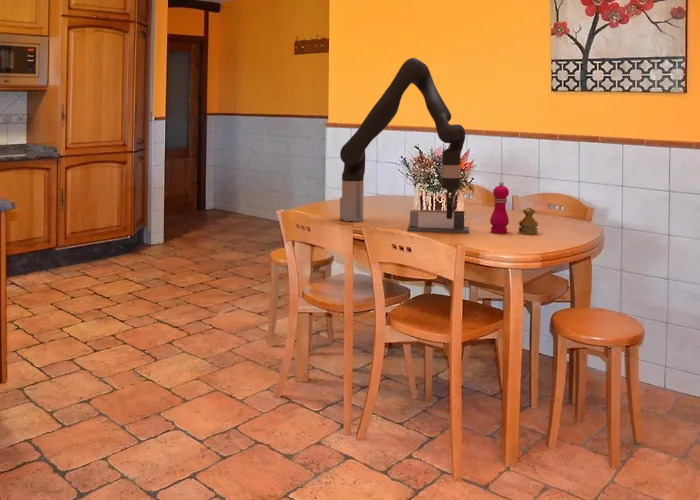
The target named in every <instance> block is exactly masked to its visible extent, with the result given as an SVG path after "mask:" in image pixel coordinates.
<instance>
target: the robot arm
mask: <svg viewBox="0 0 700 500" xmlns="http://www.w3.org/2000/svg"><path fill="white" fill-rule="evenodd" d="M412 84H413V85H414V86H415V87H416V88H417V89H418V91H420V93H421V95H422V96H423V99H424V102H425V106H426V109H427V111H428V114H429V115H430V116H431V118H432V120H433V122H434V125H435V128H436V129H435V130H436V133H437V136H438V138H439V140H440V142H443V143H445V144H449V146H448V148H445V149H444V150H443V151H442V155H441V156H442V157H441V158H442V159H441V163H442V164H441V170H440V172H441V173H440V174H441V175H440V177H441V178H440V188H441V189H443V190H447V192H444V193H445V194H444V198H445V205H446V206H445V209H446V211H447V219H452V211H454V205H455V201H456V200H455V199H456V192H455V190H459V189H461V174H462V173H461V171H462V170H461V155H462V151H463V147H464V143H465V140H466V130H465V129H464V127H463V125H461V124H457V123H456V124H450V121H451V119H452V114H451V111H450V109H449V108H448V106H447V104H446V103H445V102H444V99H443V98H442V96H441V95H440V92H439V91H438V89H437V87H436V84H435V82H434V80H433V76H432V74H431V71H430V69H429V66H428V65H427V64H426V63H424V62H423V61H421V60H420V59H418V58H417V57H410V58H408V59H406V60H404V62H403V64H402V65H401V67H400V68H399V70H398V72H396V75H395V76H394V78H393V80H392V81H391V83H390V84H389V86H387V88H386V90H385V91H384V92H383V94H382V95H381V96H380V98H379V99H378V100H377V101H376V103H375V104H374V106H373V107H372V108H371V110H370V111H369V113H368V114H367V115H366V117H365V118H364V119H363V122H362V123H361V124H360V125H359V127H358V129H357V130H356V132H355V133H354V134H353V135H352V136H351V137H350V138H349V140H348V141H346V143H345V144H344V145H342V147H341V149H340V151H339V152H340V154H339V157H340V159H341V161H342V163H343V171H342V174H341V197H340V198H339V220H340V219H341V220H340V221H343V220H344V222H350V221H353V222H362V221H364V190H365V189H364V182H365V181H364V177H365V173H366V149H367V148H368V146H369V145H370V143H371V142H373V140H375V138H376V137H377V136H378V135H380V134H381V133H382V132H383V131H384V130H385V129H386V127H388V126H389V124H390V123H391V122H392V120H393V119H394V118H395V117H396V115H397V113H398V111H399V107H400V105H401V100H402V97H403V95H404V93H405V92H406V90H407V89H408V88H409V86H410V85H412Z"/></svg>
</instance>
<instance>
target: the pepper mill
mask: <svg viewBox="0 0 700 500" xmlns="http://www.w3.org/2000/svg"><path fill="white" fill-rule="evenodd" d="M492 193H493V196H494V198H493V199H494V200H493V202H494V207H493V208H494V209H493V212H492V213H491V216H490V219H489V222H490V225H491V228H490V233H493V234H497V233H498V234H499V235H501V234H503V235H504V234H507V232H508V227H507V226H508V225H509V223H510V220H509V215H508V212H507V208H506V205H507V202H508V198H507V197H508V196H509V194H510V191H509V188H508V187H507V186H505V185H504V182H503V181H499V183H498V185H497V186H495V187H494V189H493V192H492Z"/></svg>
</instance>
